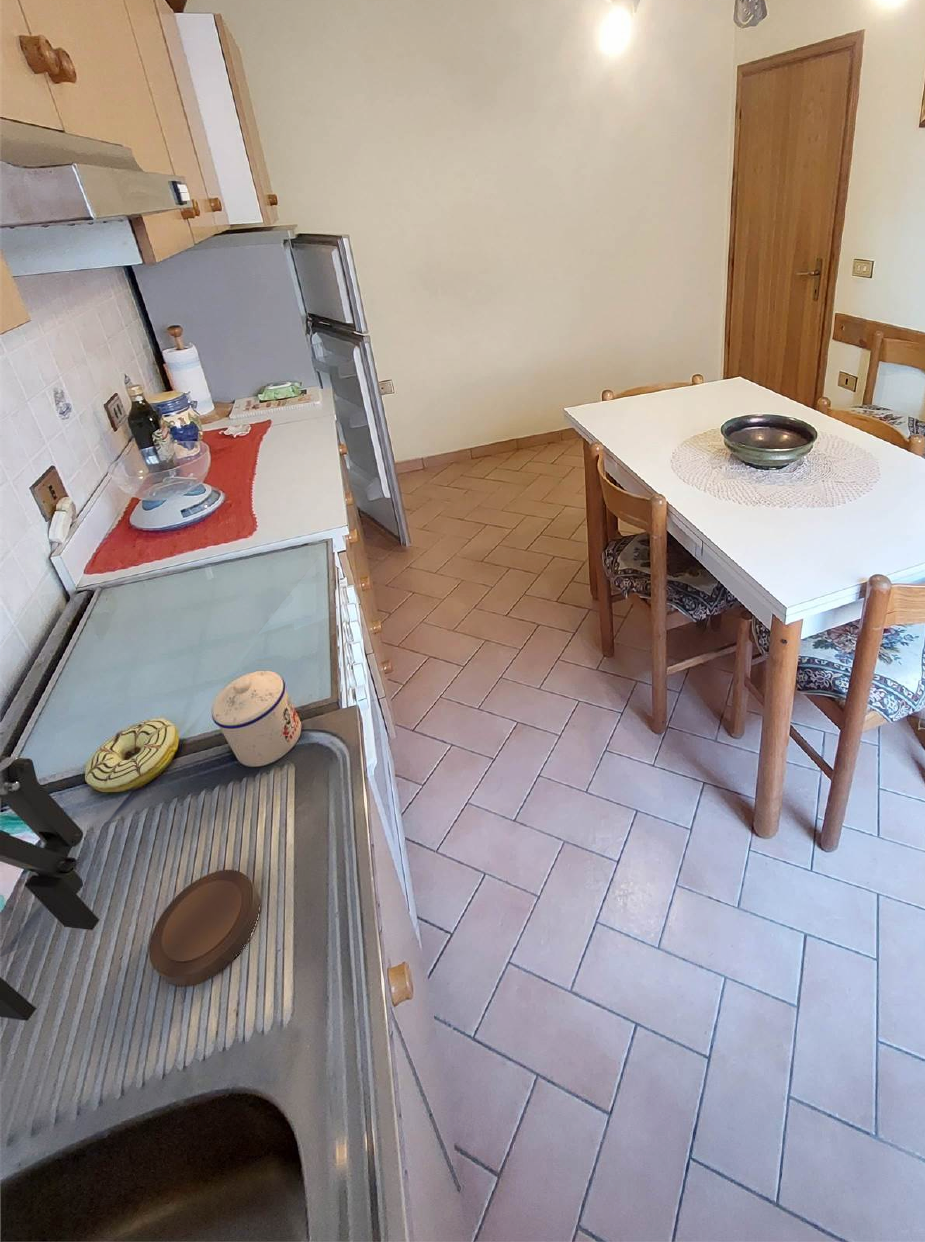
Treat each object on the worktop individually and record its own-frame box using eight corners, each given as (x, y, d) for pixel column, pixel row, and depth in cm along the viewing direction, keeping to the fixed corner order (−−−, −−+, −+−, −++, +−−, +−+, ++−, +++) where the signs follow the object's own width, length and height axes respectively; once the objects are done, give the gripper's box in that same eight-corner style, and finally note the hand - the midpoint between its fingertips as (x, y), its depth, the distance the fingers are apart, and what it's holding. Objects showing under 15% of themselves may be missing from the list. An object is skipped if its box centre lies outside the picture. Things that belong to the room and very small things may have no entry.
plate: (135, 980, 63) (124, 969, 62) (200, 876, 71) (192, 864, 70) (223, 992, 61) (214, 981, 60) (278, 884, 70) (272, 872, 69)
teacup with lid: (307, 749, 85) (279, 691, 80) (235, 781, 82) (201, 722, 76) (298, 690, 95) (273, 634, 89) (234, 717, 91) (203, 660, 86)
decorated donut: (127, 733, 90) (115, 716, 89) (198, 729, 90) (187, 711, 88) (75, 802, 81) (61, 784, 79) (154, 797, 81) (142, 779, 79)
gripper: (-289, 968, 30) (-21, 1135, 41) (44, 673, 46) (172, 852, 57) (-404, 951, 31) (-112, 1118, 42) (-40, 669, 47) (102, 845, 58)
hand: (51, 965), depth 50 cm, fingers open, 5 cm apart
